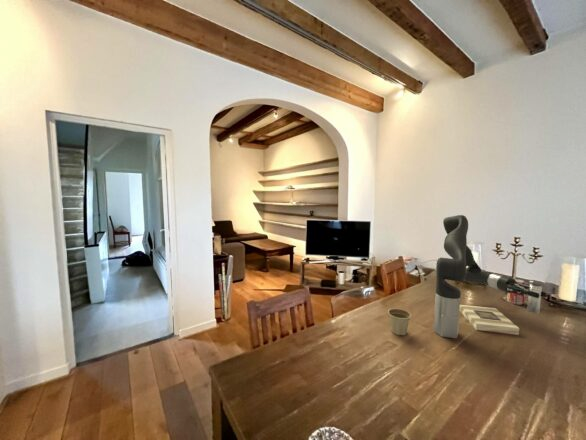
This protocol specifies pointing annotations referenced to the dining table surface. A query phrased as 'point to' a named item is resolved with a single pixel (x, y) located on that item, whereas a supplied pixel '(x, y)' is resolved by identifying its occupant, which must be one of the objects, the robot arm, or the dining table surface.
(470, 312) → the block
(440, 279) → the robot arm
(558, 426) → the dining table surface
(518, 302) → the soda can
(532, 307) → the slim silver can
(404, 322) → the flower pot
